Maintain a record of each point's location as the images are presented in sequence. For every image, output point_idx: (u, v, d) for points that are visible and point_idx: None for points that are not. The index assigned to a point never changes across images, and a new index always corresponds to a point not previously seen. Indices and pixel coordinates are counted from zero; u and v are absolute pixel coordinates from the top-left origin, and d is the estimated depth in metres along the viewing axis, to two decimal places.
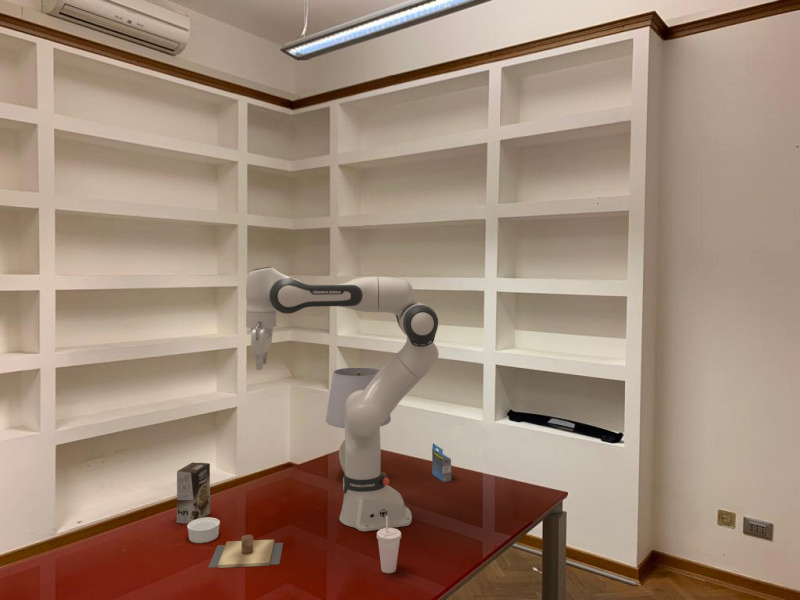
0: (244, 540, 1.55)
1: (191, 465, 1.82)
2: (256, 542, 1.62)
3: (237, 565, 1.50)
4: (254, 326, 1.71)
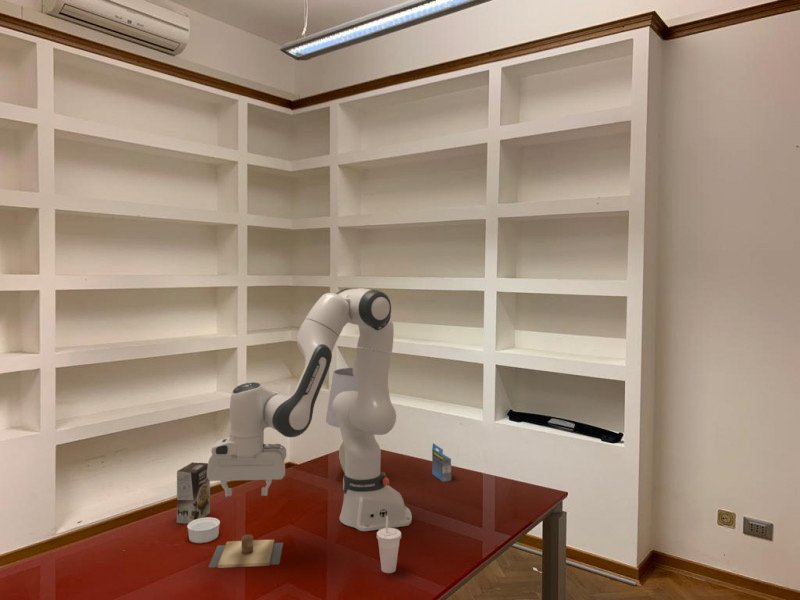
0: (244, 540, 1.55)
1: (191, 465, 1.82)
2: (256, 542, 1.62)
3: (237, 565, 1.50)
4: (261, 450, 1.55)
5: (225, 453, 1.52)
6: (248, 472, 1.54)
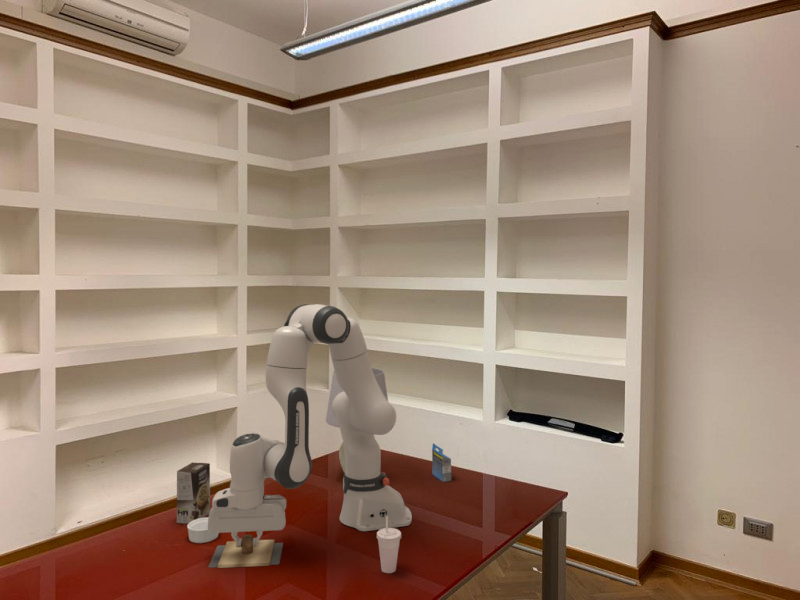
0: (244, 540, 1.55)
1: (191, 465, 1.82)
2: None
3: (237, 565, 1.50)
4: (262, 501, 1.55)
5: (226, 506, 1.52)
6: (248, 524, 1.55)
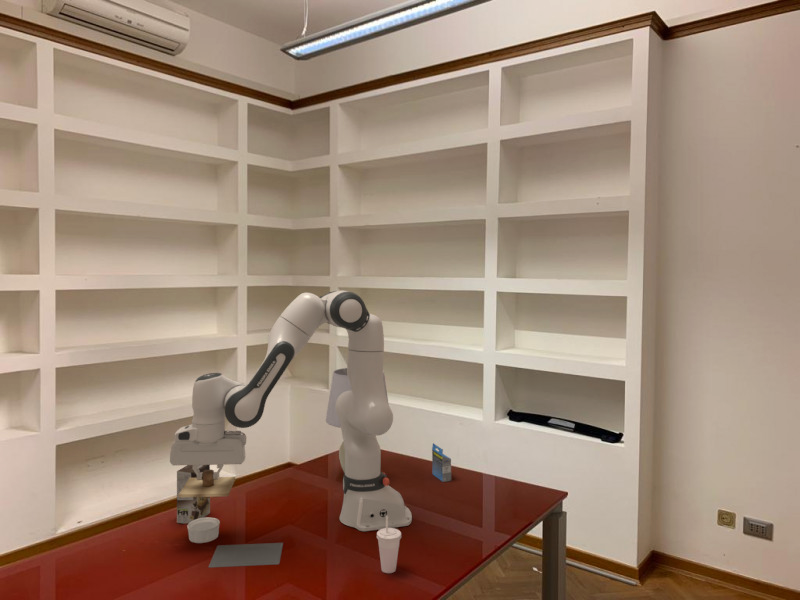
0: (204, 474, 1.63)
1: (191, 465, 1.82)
2: None
3: (197, 495, 1.58)
4: (222, 436, 1.63)
5: (187, 439, 1.60)
6: (209, 457, 1.63)
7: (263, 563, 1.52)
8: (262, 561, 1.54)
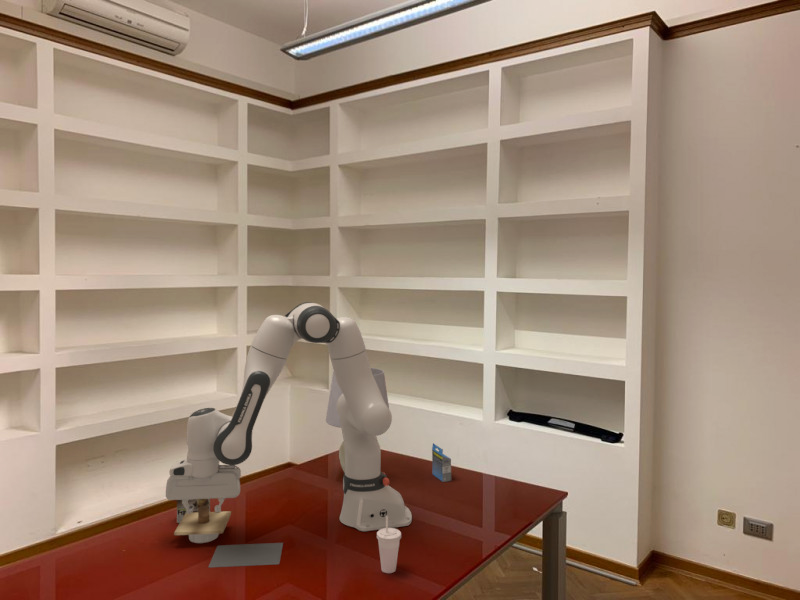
0: (200, 510, 1.66)
1: None
2: (213, 513, 1.72)
3: (192, 533, 1.61)
4: (217, 471, 1.65)
5: (182, 474, 1.63)
6: (204, 491, 1.65)
7: (263, 563, 1.52)
8: (262, 561, 1.54)
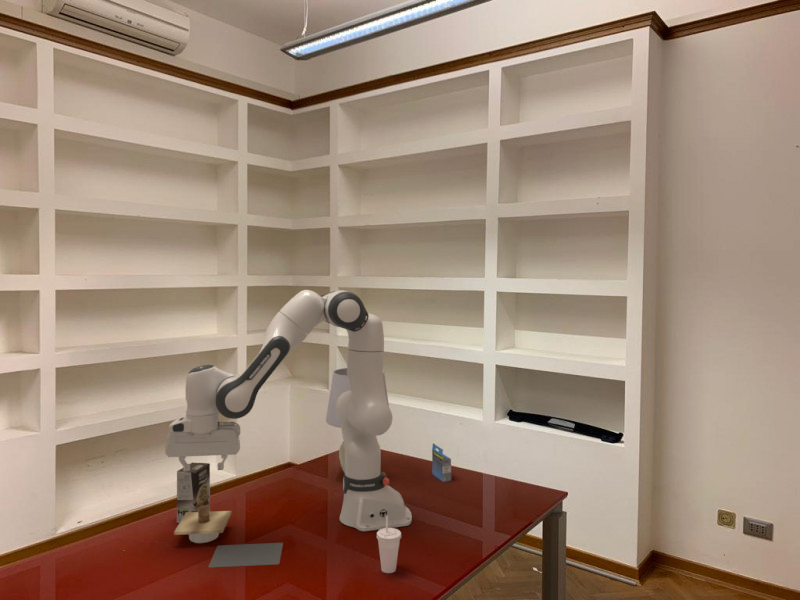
0: (200, 510, 1.66)
1: (191, 465, 1.82)
2: (213, 513, 1.72)
3: (192, 532, 1.61)
4: (216, 427, 1.65)
5: (181, 430, 1.62)
6: (204, 448, 1.64)
7: (263, 563, 1.52)
8: (262, 561, 1.54)
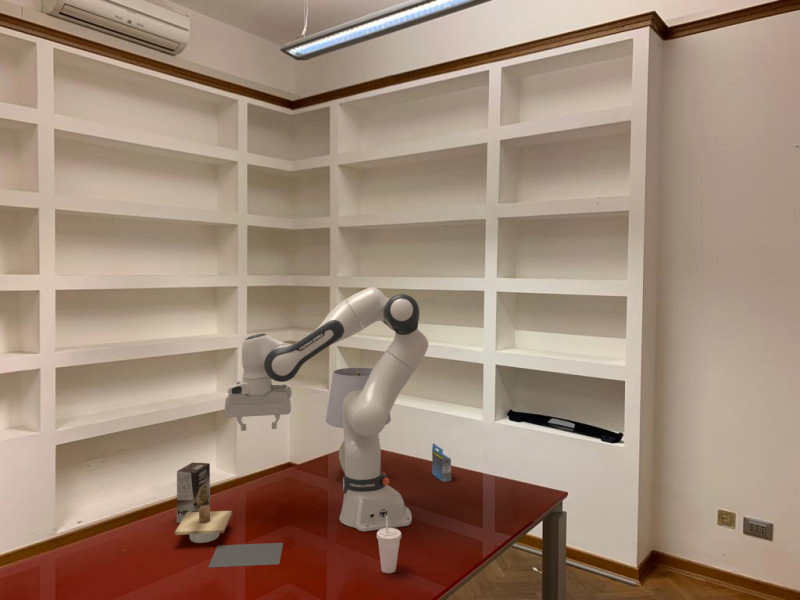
0: (201, 510, 1.66)
1: (191, 465, 1.82)
2: (214, 513, 1.72)
3: (193, 532, 1.61)
4: (270, 390, 1.81)
5: (240, 393, 1.78)
6: (259, 409, 1.81)
7: (263, 563, 1.52)
8: (262, 561, 1.54)
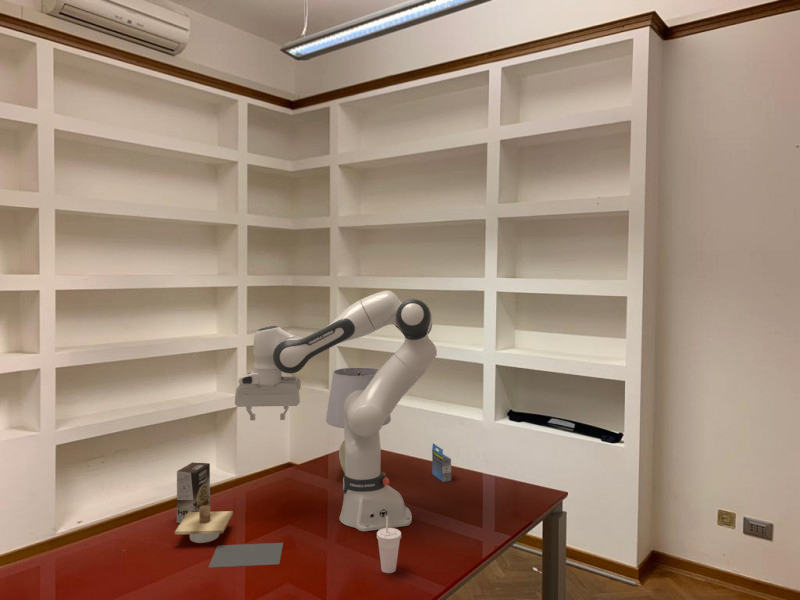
0: (201, 510, 1.66)
1: (191, 465, 1.82)
2: (215, 513, 1.72)
3: (193, 532, 1.61)
4: (280, 381, 1.85)
5: (250, 383, 1.82)
6: (269, 399, 1.85)
7: (263, 563, 1.52)
8: (262, 561, 1.54)
